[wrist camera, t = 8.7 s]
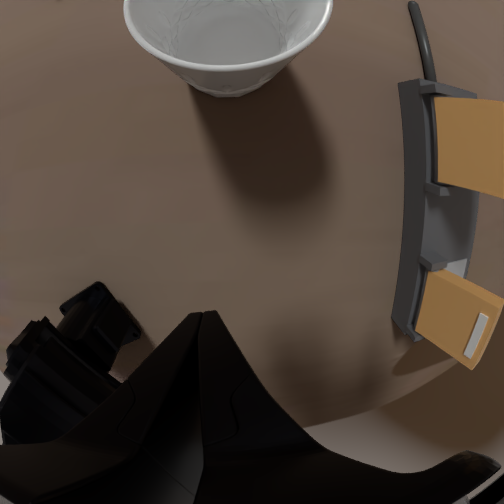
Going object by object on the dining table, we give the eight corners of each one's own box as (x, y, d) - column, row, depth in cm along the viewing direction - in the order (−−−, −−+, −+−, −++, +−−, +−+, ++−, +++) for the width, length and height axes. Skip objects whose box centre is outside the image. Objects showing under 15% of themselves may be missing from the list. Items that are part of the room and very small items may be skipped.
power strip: (390, 317, 25) (412, 347, 21) (376, -7, 13) (403, -28, 8) (440, 302, 25) (464, 326, 21) (436, 12, 13) (467, 1, 9)
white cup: (221, -4, 13) (217, -87, 4) (307, 51, 15) (368, -7, 6) (150, 69, 15) (85, 21, 6) (237, 128, 18) (244, 114, 8)
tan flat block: (430, 183, 16) (524, 209, 10) (425, 94, 13) (524, 101, 7) (439, 181, 17) (527, 205, 10) (435, 97, 14) (527, 106, 8)
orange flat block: (408, 329, 21) (470, 373, 15) (422, 266, 19) (499, 307, 12) (419, 322, 22) (478, 362, 15) (432, 260, 19) (505, 297, 13)
